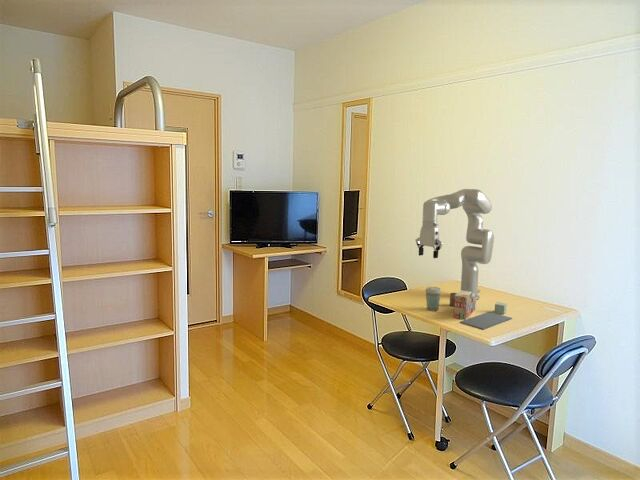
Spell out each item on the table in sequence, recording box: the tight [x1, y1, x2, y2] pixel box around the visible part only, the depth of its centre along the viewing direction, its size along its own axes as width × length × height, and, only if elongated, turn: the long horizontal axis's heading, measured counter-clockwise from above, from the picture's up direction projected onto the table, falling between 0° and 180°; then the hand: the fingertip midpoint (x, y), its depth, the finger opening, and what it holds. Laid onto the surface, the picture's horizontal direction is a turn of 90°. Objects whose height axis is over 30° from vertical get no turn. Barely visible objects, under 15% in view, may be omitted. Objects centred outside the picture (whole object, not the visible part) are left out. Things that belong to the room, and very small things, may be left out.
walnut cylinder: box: [449, 292, 458, 308], centre depth 256 cm, size 5×5×7 cm
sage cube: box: [493, 302, 508, 316], centre depth 245 cm, size 5×5×5 cm
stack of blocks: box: [453, 289, 477, 320], centre depth 242 cm, size 21×6×12 cm, turn 148°
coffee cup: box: [425, 286, 442, 312], centre depth 248 cm, size 8×8×12 cm
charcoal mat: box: [459, 311, 513, 331], centre depth 231 cm, size 27×13×1 cm, turn 129°
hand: (428, 256), depth 242 cm, fingers open, 9 cm apart
